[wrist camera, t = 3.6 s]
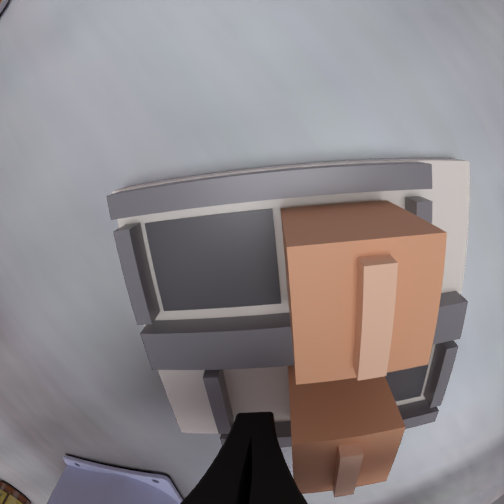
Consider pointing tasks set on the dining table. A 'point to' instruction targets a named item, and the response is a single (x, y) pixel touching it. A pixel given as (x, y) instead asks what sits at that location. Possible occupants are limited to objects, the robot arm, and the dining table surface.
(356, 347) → the cardboard box
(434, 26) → the dining table surface
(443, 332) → the divided tray
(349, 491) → the orange cube
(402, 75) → the dining table surface
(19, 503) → the sauce bottle
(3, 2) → the pill bottle
